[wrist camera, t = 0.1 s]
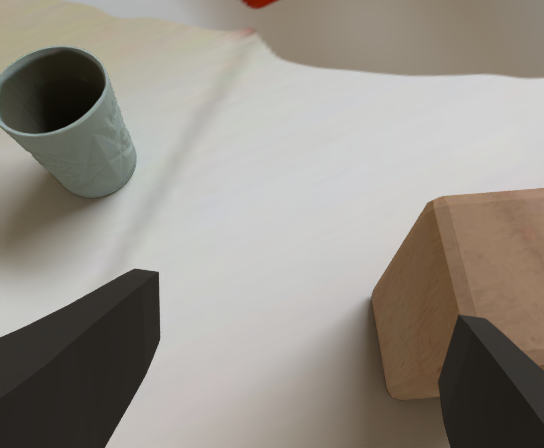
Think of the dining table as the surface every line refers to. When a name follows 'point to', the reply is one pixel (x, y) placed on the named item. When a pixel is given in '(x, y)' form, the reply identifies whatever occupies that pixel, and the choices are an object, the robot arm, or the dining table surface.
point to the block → (461, 284)
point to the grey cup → (68, 119)
